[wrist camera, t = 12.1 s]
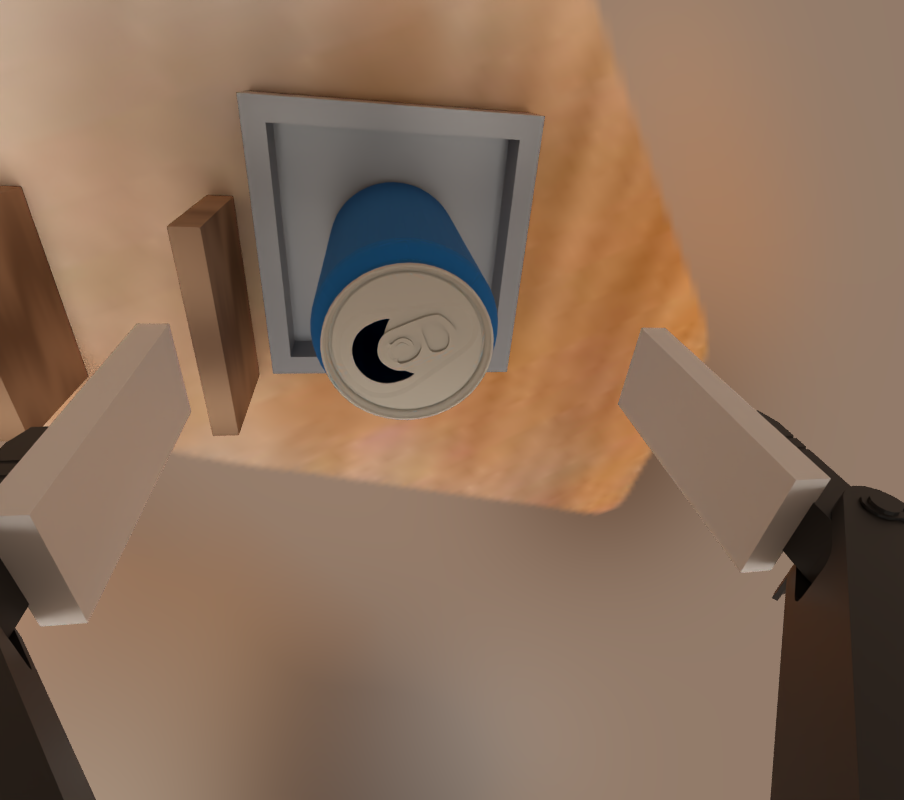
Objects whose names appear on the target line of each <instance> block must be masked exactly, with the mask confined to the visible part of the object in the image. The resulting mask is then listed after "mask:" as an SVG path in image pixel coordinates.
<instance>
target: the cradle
mask: <svg viewBox="0 0 904 800" xmlns="http://www.w3.org/2000/svg"><path fill="white" fill-rule="evenodd" d="M167 230H168V234H169V239H170V243H171V248H172V252H173V257H174V262H175V266H176V271H177V275H178V280H179V284H180V289H181V293H182V298H183V302H184V307H185V312H186V316H187V321H188V325H189V330H190V334H191V339H192V343H193V348H194V352H195V357H196V362H197V366H198V371H199V375H200V380H201V384H202V389H203V393H204V398H205V402H206V407H207V412H208V416H209V421H210V425H211V430H212V434H213V436H226V435H239V433H240V430H241V427H242V424H243V421H244V418H245V415H246V413H247V410H248V407H249V404H250V401H251V398H252V395H253V392H254V389H255V387H256V384H257V381H258V378H259V368H258V362H257V355H256V348H255V341H254V335H253V328H252V321H251V314H250V308H249V301H248V294H247V287H246V281H245V274H244V267H243V260H242V254H241V247H240V240H239V233H238V226H237V220H236V213H235V206H234V199H233V196H213V195H206V196H205V197H204V198H203V199H201V200H200V201H199V202H197V203H196V204H195V205H194V206H192V207H191V208H190V209H188V210H187V211H186V212H185V213H183V214H182V215H181V216H179V217H178V218H177V219H176V220H174V221H173V222H172V223H170V224H169V225H168V226H167ZM87 377H88V375H87V372H86V369H85V366H84V363H83V361H82V358H81V355H80V352H79V349H78V346H77V344H76V341H75V338H74V335H73V332H72V330H71V327H70V324H69V321H68V318H67V315H66V313H65V310H64V307H63V304H62V301H61V298H60V296H59V293H58V290H57V287H56V284H55V282H54V279H53V276H52V273H51V270H50V267H49V265H48V262H47V259H46V256H45V253H44V250H43V248H42V245H41V242H40V239H39V236H38V234H37V231H36V228H35V225H34V222H33V219H32V217H31V214H30V211H29V208H28V205H27V203H26V200H25V197H24V194H23V191H22V188H21V187H16V186H0V441H9V440H11V439H13V438H14V437H16V436H17V435H19V434H21V433H22V432H24V431H26V430H27V429H29V428H30V427H43V425H44V424H45V423H46V422H47V421H48V420H49V419H50V418H51V417H52V416H53V414H54V413H55V412H56V411H57V410H58V409H59V408H60V407H61V406H62V405H63V404H64V402H65V401H66V400H67V399H68V398H69V397H70V396H71V395H72V394H73V393H74V391H75V390H76V389H77V388H78V387H79V386H80V385H81V384H82V383H83V382H84V380H85V379H86V378H87Z"/></svg>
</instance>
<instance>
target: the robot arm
mask: <svg viewBox="0 0 904 800" xmlns="http://www.w3.org/2000/svg"><path fill="white" fill-rule="evenodd" d="M618 405H619V406H620V408H621V409H622V410H623V412H624V413H625V415H626V416H627V417H628V419H629V420H630V421H631V423H632V424H633V426H634V427H635V428H636V430H637V431H638V432H639V434H640V435H641V437H642V438H643V439H644V441H645V442H646V444H647V445H648V446H649V448H650V449H651V450H652V452H653V453H654V455H655V456H656V457H657V458H658V460H659V461H660V463H661V464H662V466H663V467H664V468H665V470H666V471H667V472H668V474H669V475H670V477H671V478H672V479H673V481H674V482H675V483H676V485H677V486H678V488H679V489H680V490H681V492H682V493H683V494H684V496H685V497H686V498H687V500H688V501H689V503H690V504H691V505H692V507H693V508H694V510H695V511H696V512H697V514H698V515H699V516H700V518H701V519H702V521H703V522H704V523H705V525H706V526H707V528H708V529H709V530H710V531H711V533H712V534H713V536H714V537H715V539H716V540H717V541H718V543H719V544H720V545H721V547H722V548H723V550H724V551H725V552H726V554H727V555H728V556H729V558H730V559H731V561H732V562H733V563H734V565H735V566H736V568H737V569H738V570H739V572H742V573H743V572H754V571H769V570H771V569H772V568H773V566H774V565H775V563H776V562H777V560H778V559H779V557H780V556H781V554H782V552H783V551H784V552H785V554H786V555H787V556H788V557H789V558H790V560H791V561H792V562H793V563H794V565H793V566H792V568H791V569H790V571H789V572H788V574H787V575H786V576H785V578H784V579H783V581H782V582H781V584H780V585H779V587H778V588H777V590H776V591H775V593H774V595H773V597H772V598H773V599H775V600H778V599H779V598H780V596H781V595H782V594H785V593H786V595H785V596H786V597H785V610H784V623H783V636H782V650H781V663H780V677H779V691H778V704H777V705H778V706H777V718H776V731H775V745H774V758H773V772H772V787H771V800H904V503H903V502H901V501H900V500H898V499H897V498H895V497H893V496H891V495H889V494H887V493H884V492H882V491H880V490H877V489H873V488H869V487H866V486H850V485H849V484H847V483H846V482H845V481H844V480H843V479H842V478H841V477H840V476H838V475H837V474H836V473H835V472H834V471H833V470H832V469H831V468H829V467H828V466H827V465H826V464H825V463H824V462H823V461H822V460H820V459H819V458H818V457H817V456H816V455H815V454H814V453H813V452H811V451H810V450H808V449H806V446H804V444H802V443H801V442H800V441H799V440H798V439H797V438H793V435H792V434H791V433H790V432H789V431H788V430H786V429H785V428H784V427H783V426H782V425H781V424H780V423H779V422H777V421H775V420H774V419H772V418H770V417H768V416H767V415H765V414H763V413H761V412H759V411H756V410H755V409H754V408H753V407H752V406H751V405H749V404H748V403H747V402H746V401H745V400H744V399H743V398H742V397H740V396H739V395H738V394H737V393H736V392H735V391H734V390H733V389H732V388H731V387H729V386H728V385H727V384H726V383H725V382H724V381H723V380H722V379H721V378H720V377H719V376H717V375H716V374H715V373H714V372H713V371H712V370H711V369H710V368H709V367H708V366H706V365H705V364H704V363H703V362H702V361H701V360H700V359H699V358H698V357H697V356H695V355H694V354H693V353H692V352H691V351H690V350H689V349H688V348H687V347H686V346H684V345H683V344H682V343H681V342H680V341H679V340H678V339H677V338H676V337H674V336H673V335H672V334H671V333H670V332H669V331H668V330H667V329H666V328H641V331H640V335H639V338H638V341H637V344H636V347H635V351H634V354H633V357H632V360H631V364H630V367H629V370H628V373H627V376H626V380H625V383H624V386H623V389H622V393H621V396H620V399H619V402H618ZM190 413H191V409H190V405H189V401H188V397H187V393H186V389H185V385H184V381H183V377H182V373H181V369H180V365H179V361H178V357H177V353H176V349H175V345H174V342H173V338H172V334H171V330H170V326H169V324H136V325H135V326H134V327H133V329H132V330H131V331H130V332H129V333H128V334H127V336H126V337H125V338H124V339H123V340H122V342H121V343H120V344H119V345H118V346H117V347H116V349H115V350H114V351H113V352H112V353H111V354H110V356H109V357H108V358H107V359H106V360H105V361H104V363H103V364H102V365H101V366H100V367H99V368H98V370H97V371H96V372H95V373H94V374H93V376H92V377H91V378H90V379H89V380H88V381H87V383H86V384H85V385H84V386H83V387H82V388H81V390H80V391H79V392H78V393H77V394H76V395H75V397H74V398H73V399H72V400H71V401H70V402H69V404H68V405H67V406H66V407H65V408H64V410H63V411H62V412H61V413H60V414H59V415H58V417H57V418H56V419H55V420H54V421H53V422H52V424H51V425H50V426H49V427H30V428H29V429H27V430H26V431H24V432H22V433H21V434H19V435H17V436H16V437H14V438H13V439H11V440H9V441H8V442H6V443H5V444H4V445H3V446H2V447H1V448H0V800H96V799H95V797H94V795H93V792H92V790H91V788H90V786H89V784H88V781H87V779H86V777H85V775H84V773H83V770H82V768H81V766H80V764H79V762H78V760H77V758H76V755H75V753H74V751H73V749H72V746H71V744H70V742H69V740H68V738H67V735H66V733H65V731H64V729H63V727H62V725H61V722H60V720H59V718H58V716H57V714H56V711H55V709H54V707H53V705H52V703H51V701H50V698H49V697H48V694H47V692H46V690H45V687H44V685H43V683H42V681H41V679H40V677H39V674H38V672H37V670H36V668H35V666H34V663H33V661H32V659H31V657H30V655H29V652H28V650H27V648H26V646H25V644H24V642H23V639H22V637H21V636H20V635H19V633H18V631H17V630H16V629H15V627H16V625H17V624H18V622H19V620H20V619H21V617H22V615H23V614H24V612H25V610H26V609H27V607H28V608H29V609H30V610H31V612H32V614H33V615H34V617H35V619H36V620H37V622H38V623H39V625H40V626H52V625H66V624H79V623H88V621H89V619H90V617H91V615H92V613H93V611H94V609H95V607H96V605H97V603H98V601H99V599H100V597H101V595H102V593H103V591H104V589H105V587H106V585H107V583H108V580H109V578H110V576H111V574H112V572H113V570H114V568H115V566H116V564H117V562H118V560H119V558H120V556H121V554H122V552H123V550H124V548H125V546H126V544H127V542H128V540H129V537H130V535H131V533H132V531H133V529H134V527H135V525H136V523H137V521H138V519H139V517H140V515H141V513H142V511H143V509H144V507H145V505H146V502H147V501H148V499H149V496H150V495H151V493H152V491H153V488H154V486H155V484H156V482H157V480H158V478H159V476H160V474H161V472H162V470H163V468H164V466H165V464H166V462H167V460H168V458H169V456H170V454H171V452H172V450H173V448H174V446H175V444H176V442H177V439H178V437H179V435H180V433H181V431H182V429H183V427H184V425H185V423H186V421H187V419H188V417H189V415H190Z"/></svg>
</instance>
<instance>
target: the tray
mask: <svg viewBox="0 0 904 800" xmlns="http://www.w3.org/2000/svg"><path fill="white" fill-rule="evenodd" d="M236 93H237V101H238V109H239V116H240V124H241V132H242V139H243V147H244V154H245V162H246V170H247V177H248V185H249V193H250V200H251V208H252V215H253V223H254V231H255V238H256V246H257V254H258V261H259V269H260V276H261V284H262V292H263V299H264V307H265V315H266V322H267V330H268V338H269V345H270V353H271V360H272V368H273V374H282V373H326V372H325V371H324V369H323V368H322V366H321V364H320V362H319V360H318V358H317V356H316V353H315V350H314V347H313V344H312V338H311V332H310V318H311V311H312V306H313V302H314V298H315V294H316V289H317V285H318V281H319V277H320V273H321V269H322V265H323V261H324V257H325V253H326V249H327V245H328V241H329V237H330V233H331V229H332V226H333V223H334V220H335V218H336V216H337V214H338V212H339V211H340V209H341V208H342V206H343V205H344V204H345V203H346V202H347V201H348V200H349V199H350V198H351V197H352V196H353V195H355V194H356V193H358V192H359V191H361V190H363V189H365V188H367V187H369V186H372V185H375V184H379V183H385V182H398V183H405V184H409V185H413V186H415V187H418V188H420V189H422V190H424V191H426V192H427V193H429V194H430V195H431V196H433V197H434V198H435V199H436V200H437V201H438V202H439V203H440V204H441V205H442V206H443V207H444V209H445V210H446V211H447V213H448V215H449V216H450V218H451V220H452V222H453V223H454V225H455V227H456V229H457V230H458V232H459V234H460V236H461V238H462V239H463V241H464V243H465V245H466V246H467V248H468V250H469V252H470V253H471V255H472V257H473V259H474V260H475V262H476V264H477V266H478V268H479V269H480V271H481V273H482V275H483V276H484V278H485V280H486V282H487V283H488V285H489V287H490V289H491V292H492V294H493V297H494V299H495V304H496V308H497V316H498V331H497V338H496V343H495V347H494V350H493V353H492V357H491V361H490V364H489V367H488V369H487V371H486V372H507V367H508V361H509V354H510V347H511V341H512V334H513V327H514V320H515V314H516V307H517V300H518V294H519V287H520V280H521V273H522V267H523V260H524V253H525V247H526V240H527V233H528V226H529V220H530V213H531V206H532V200H533V193H534V186H535V179H536V173H537V166H538V159H539V153H540V146H541V139H542V132H543V126H544V119H545V116H541V115H537V114H533V113H527V112H514V111H501V110H488V109H476V108H463V107H450V106H437V105H424V104H411V103H399V102H386V101H373V100H360V99H347V98H334V97H322V96H309V95H296V94H283V93H270V92H258V91H243V92H236Z"/></svg>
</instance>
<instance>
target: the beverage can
mask: <svg viewBox="0 0 904 800" xmlns="http://www.w3.org/2000/svg"><path fill="white" fill-rule="evenodd" d="M497 331H498V316H497V308H496V304H495V299H494V297H493V294H492V292H491V289H490V287H489V285H488V283H487V282H486V280H485V278H484V276H483V275H482V273H481V271H480V269H479V268H478V266H477V264H476V262H475V260H474V259H473V257H472V255H471V253H470V252H469V250H468V248H467V246H466V245H465V243H464V241H463V239H462V238H461V236H460V234H459V232H458V230H457V229H456V227H455V225H454V223H453V222H452V220H451V218H450V216H449V215H448V213H447V211H446V210H445V209H444V207H443V206H442V205H441V204H440V203H439V202H438V201H437V200H436V199H435V198H434V197H433V196H431V195H430V194H429V193H427V192H426V191H424V190H422V189H420V188H418V187H415V186H413V185H409V184H405V183H398V182H385V183H379V184H375V185H372V186H369V187H367V188H365V189H363V190H361V191H359V192H358V193H356V194H355V195H353V196H352V197H351V198H350V199H349V200H348V201H347V202H346V203H345V204H344V205H343V206H342V208H341V209H340V211H339V212H338V214H337V216H336V218H335V220H334V223H333V226H332V229H331V233H330V237H329V241H328V245H327V249H326V253H325V257H324V261H323V265H322V269H321V273H320V277H319V281H318V285H317V289H316V294H315V298H314V302H313V306H312V311H311V318H310V332H311V338H312V344H313V347H314V350H315V353H316V356H317V358H318V360H319V362H320V364H321V366H322V368H323V369H324V371H325V372H326V374H327V375H328V377H329V379H330V381H331V382H332V384H333V385H334V387H335V388H336V389H337V390H338V391H339V392H340V394H341V395H342V396H343V397H345V398H346V399H347V400H348V401H349V402H351V403H352V404H354V405H355V406H356V407H358V408H360V409H362V410H364V411H366V412H368V413H371V414H373V415H376V416H380V417H384V418H388V419H396V420H413V419H421V418H426V417H430V416H433V415H437V414H439V413H442V412H444V411H446V410H448V409H450V408H452V407H454V406H456V405H457V404H458V403H460V402H461V401H463V400H464V399H465V398H466V397H467V396H468V395H469V394H471V393H472V392H473V390H474V389H475V388H476V387H477V386H478V385H479V383H480V381H481V380H482V378H483V377H484V375H485V373H486V371H487V369H488V367H489V364H490V361H491V357H492V353H493V350H494V347H495V343H496V338H497Z"/></svg>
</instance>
